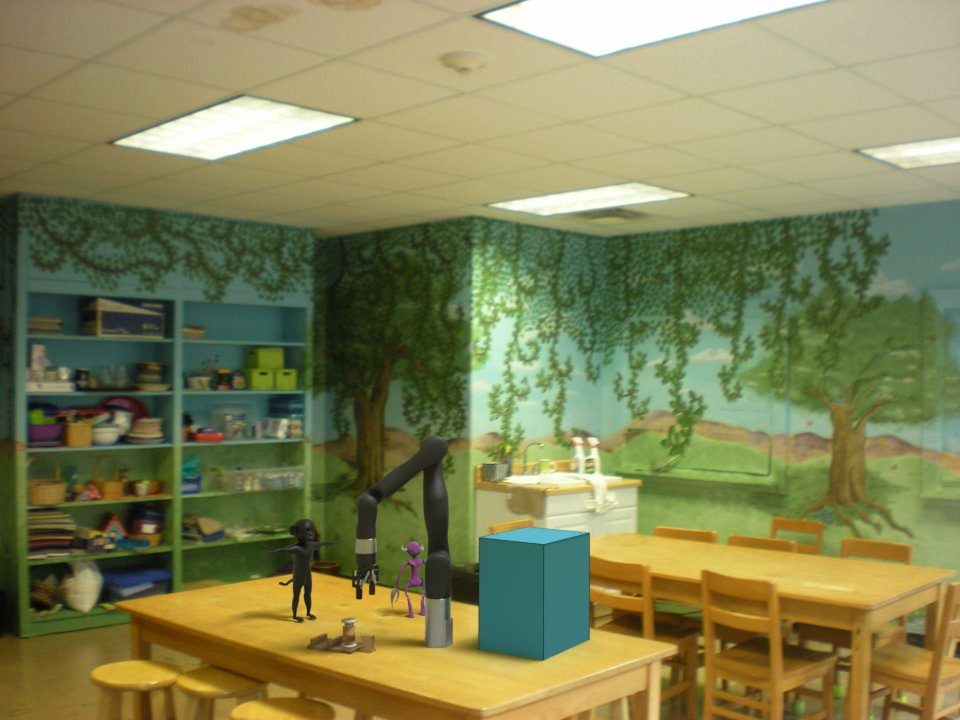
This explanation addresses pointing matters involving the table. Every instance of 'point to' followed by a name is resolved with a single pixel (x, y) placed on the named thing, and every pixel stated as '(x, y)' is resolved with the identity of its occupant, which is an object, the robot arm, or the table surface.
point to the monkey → (302, 562)
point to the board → (338, 640)
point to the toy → (415, 580)
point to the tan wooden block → (367, 643)
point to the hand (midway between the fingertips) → (365, 597)
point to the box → (534, 592)
